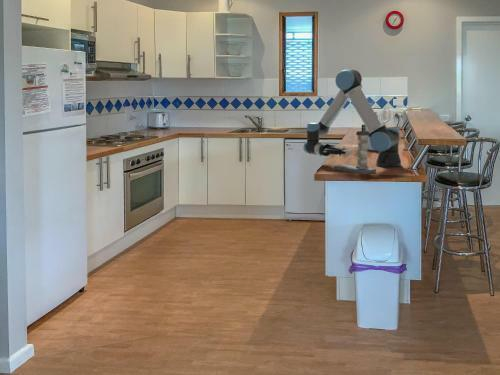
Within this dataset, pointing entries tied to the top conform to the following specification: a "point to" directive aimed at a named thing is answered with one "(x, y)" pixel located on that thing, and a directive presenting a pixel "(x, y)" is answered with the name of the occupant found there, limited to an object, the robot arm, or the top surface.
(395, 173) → the top surface
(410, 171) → the top surface
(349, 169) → the fader console
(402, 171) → the top surface
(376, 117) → the robot arm
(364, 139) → the lever
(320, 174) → the top surface
